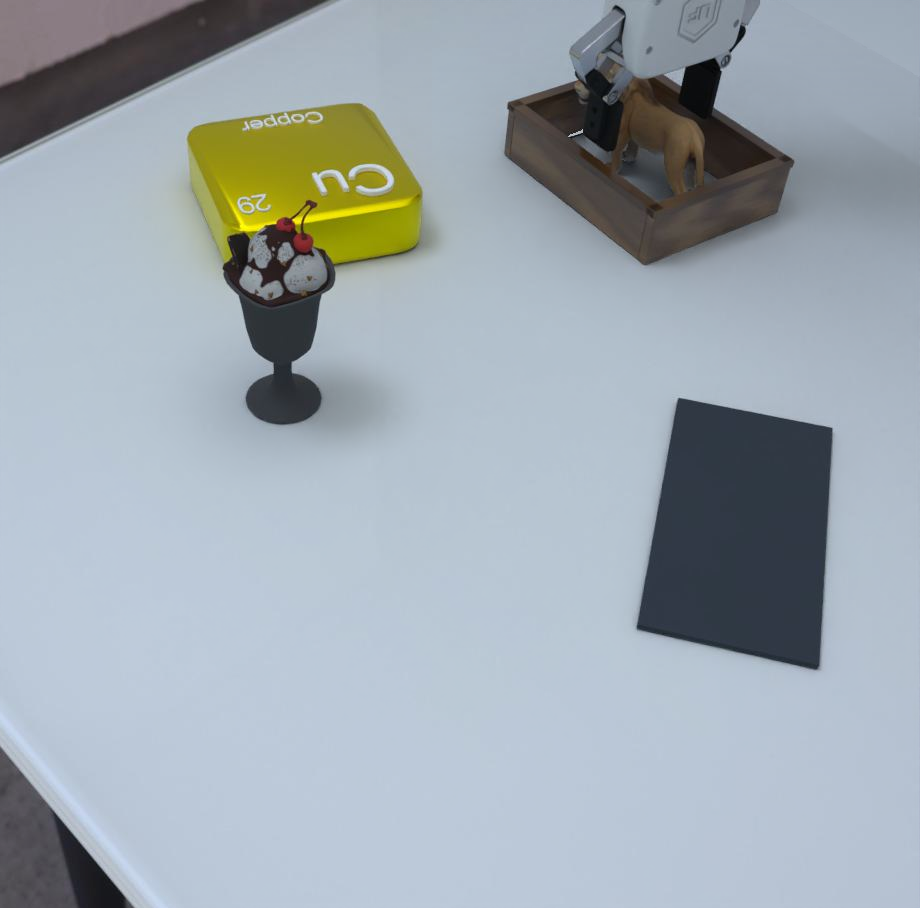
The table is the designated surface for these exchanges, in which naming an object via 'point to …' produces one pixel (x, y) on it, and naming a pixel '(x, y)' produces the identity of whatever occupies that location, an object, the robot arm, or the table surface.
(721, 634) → the mat
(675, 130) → the lion figurine
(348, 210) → the element tile
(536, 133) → the wooden box
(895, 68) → the table surface
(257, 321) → the sundae
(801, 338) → the table surface
